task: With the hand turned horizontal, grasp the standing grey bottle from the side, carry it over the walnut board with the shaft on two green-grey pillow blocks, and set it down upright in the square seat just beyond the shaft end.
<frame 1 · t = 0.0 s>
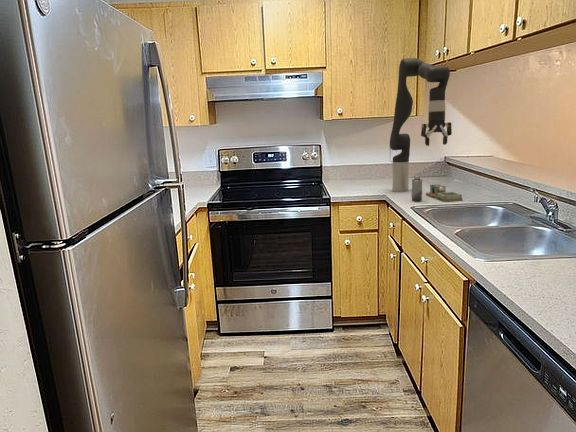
hand: (436, 145, 216), 29 cm above the worktop, tool pointing down, fingers open, 8 cm apart
base board: (443, 197, 238), on the worktop
shaft and pillow blocks: (438, 195, 244), resting on base board
hub seat: (448, 199, 232), resting on base board
grey bottle: (416, 200, 233), on the worktop
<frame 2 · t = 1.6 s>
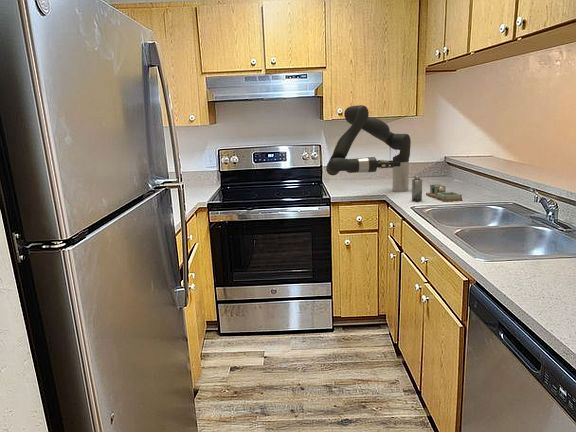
hand: (396, 163, 227), 20 cm above the worktop, tool horizontal, fingers open, 8 cm apart
nothing on the worktop moved.
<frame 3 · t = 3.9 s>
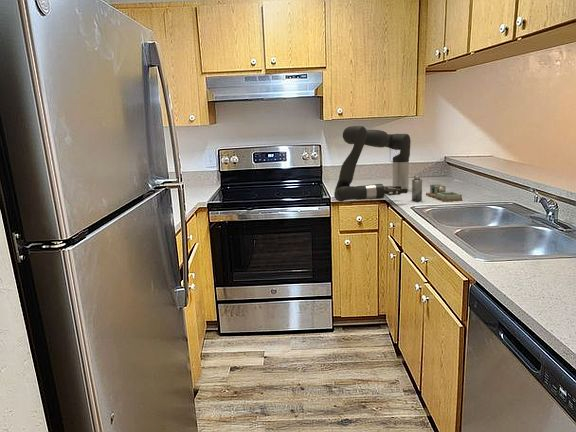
hand: (404, 189, 231), 6 cm above the worktop, tool horizontal, fingers open, 8 cm apart
nothing on the worktop moved.
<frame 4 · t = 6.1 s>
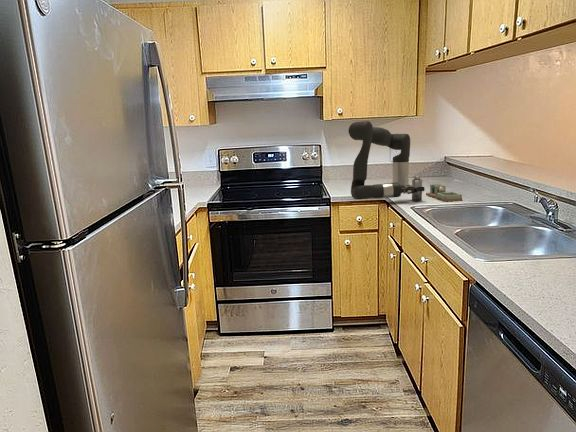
hand: (421, 188, 232), 7 cm above the worktop, tool horizontal, fingers closed on grey bottle, 5 cm apart
grey bottle: (416, 200, 233), on the worktop, touching gripper
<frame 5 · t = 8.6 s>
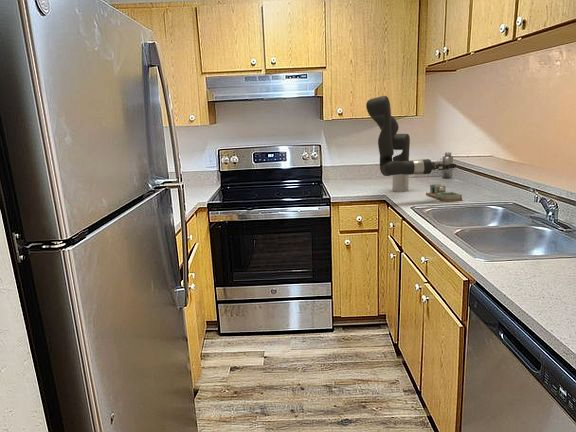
hand: (452, 165, 228), 18 cm above the worktop, tool horizontal, fingers closed on grey bottle, 5 cm apart
grey bottle: (447, 178, 230), point 11 cm above the worktop, touching gripper
when the fingers open (9 cm above the worktop, at t = 11.3 s): grey bottle drops 1 cm, resting on base board.
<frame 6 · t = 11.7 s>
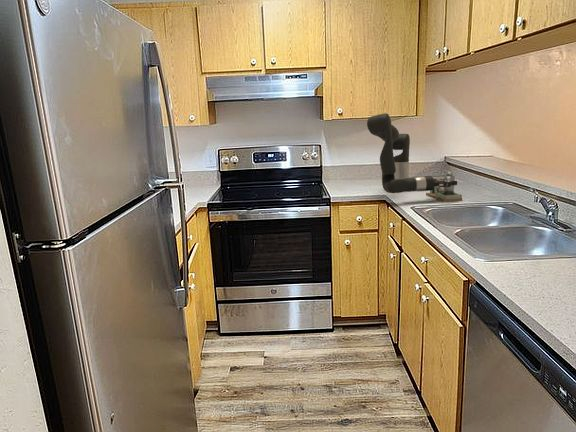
hand: (452, 181, 230), 9 cm above the worktop, tool horizontal, fingers open, 8 cm apart
grey bottle: (448, 197, 232), point 1 cm above the worktop, touching base board
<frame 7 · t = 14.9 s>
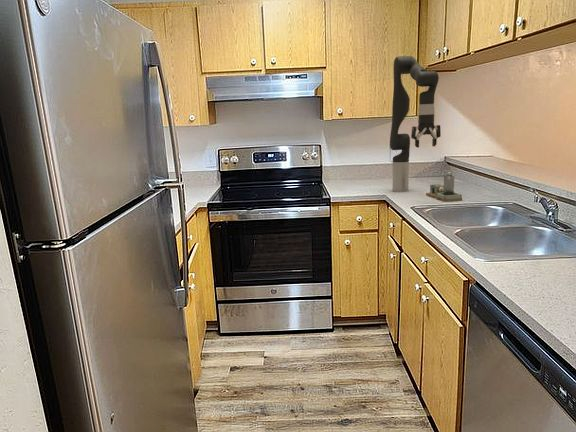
hand: (425, 146, 225), 28 cm above the worktop, tool pointing down, fingers open, 8 cm apart
nothing on the worktop moved.
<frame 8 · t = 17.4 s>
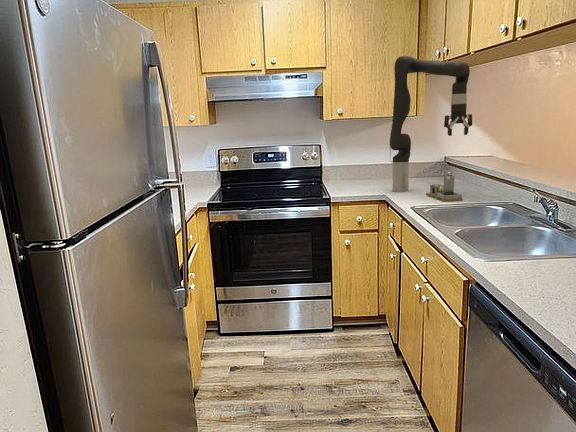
hand: (457, 135, 234), 32 cm above the worktop, tool pointing down, fingers open, 8 cm apart
nothing on the worktop moved.
at the end: grey bottle 0.1 cm off-centre on the hub seat, point 1.2 cm above the hub seat's base; grey bottle tilted 0°; the gripper is holding nothing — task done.
